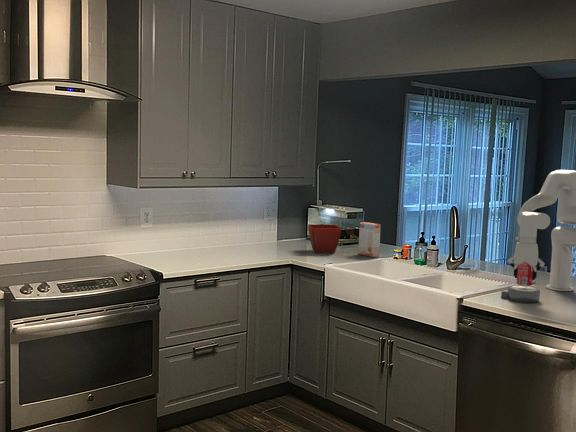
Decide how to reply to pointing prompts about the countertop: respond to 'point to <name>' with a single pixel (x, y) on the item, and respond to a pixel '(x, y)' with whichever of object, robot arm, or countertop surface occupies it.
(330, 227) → the plant pot
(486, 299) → the countertop surface
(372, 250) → the cracker box
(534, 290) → the motor housing
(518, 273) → the soda can
